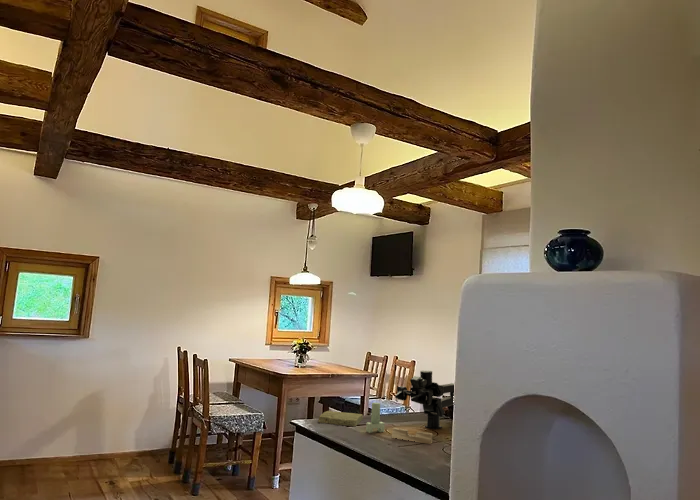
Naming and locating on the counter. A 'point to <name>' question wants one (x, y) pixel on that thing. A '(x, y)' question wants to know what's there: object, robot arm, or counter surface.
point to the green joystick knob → (375, 419)
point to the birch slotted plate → (412, 436)
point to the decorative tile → (340, 418)
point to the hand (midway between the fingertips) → (403, 398)
